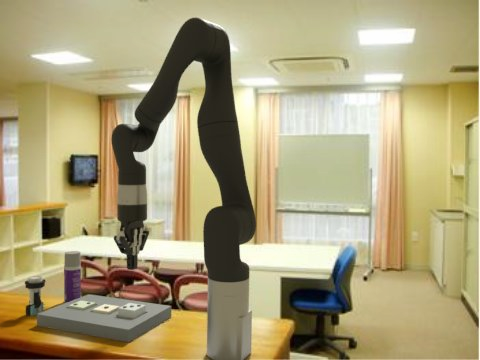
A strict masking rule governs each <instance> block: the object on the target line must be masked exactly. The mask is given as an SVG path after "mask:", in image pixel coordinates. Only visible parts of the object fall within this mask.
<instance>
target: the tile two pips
mask: <svg viewBox="0 0 480 360" xmlns="http://www.w3.org/2000/svg"><path fill="white" fill-rule="evenodd" d="M94 306H96V303H94V302H88V301H78V302H76V303H73V304H71V305H68V308H69V309H76V310H82V311H84V310H87V309H89V308H91V307H94Z"/></svg>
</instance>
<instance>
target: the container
mask: <svg viewBox="0 0 480 360" xmlns="http://www.w3.org/2000/svg"><path fill="white" fill-rule="evenodd" d="M81 266H82V264H81V251H79V250H72V251H65V252H64V268H63V273H64V276H63V277H64V278H63V279H64V281H63V282H64V284H63V287H64V290H63V292H64V293H63V294H64V295H63V296H64V297H63V298H64V299H63V300H64V301H63V302H64V303H63V304H65V303H67V302H70V301H72V300H75V299H78V298H80V297H82V293H81V292H82V286H81V285H82V284H81V282H82V281H81V280H82V277H81V276H82V271H81V270H82V269H81V268H82V267H81Z"/></svg>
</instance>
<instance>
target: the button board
mask: <svg viewBox="0 0 480 360" xmlns="http://www.w3.org/2000/svg"><path fill="white" fill-rule="evenodd" d="M78 301H88V302H94V303H96V306H94V307H91V308H89V309H87V310H84V311H82V310H76V309H69V308H68V305H71V304H73V303H76V302H78ZM128 303H134V304H141V305H145V314H143V315H142V316H140V317H138V318H136V319H132V318H126V317H120V316H118V311H116V312H114V313H111V314H109V315H107V314H101V313H94V312H93V309H94V308H97V307H99V306H101V305H104V304H108V305H114V306H120V307H122V306H124V305H126V304H128ZM170 318H172V305H166V304H159V303H153V302H144V301H138V300H131V299H125V298H119V297H118V298H117V297H110V296H103V295H96V294H91V293H90V294H89V293H88V294H85V295H83V296H81V297H80V298H78V299H75V300H72V301H70V302H67V303H62V304H60V305H57V306H55V307H51V308H49V309H46V310H43V311H42V312H41V313H38V314H36V326H37V327H43V328H46V329H47V328H49V329H53V330H54V329H55V330H58V331H59V330H60V331H65V332H69V333H74V334H75V333H76V334H81V335H85V336H91V337H92V336H93V337H98V338H102V339H103V338H104V339H109V340H114V341H119V342H120V341H121V342H124V343H130V342H131V341H133V340H135V339H136V338H138V337H140V336H141V335H144V334H146V333H147V332H148V331H150V330H152V329H153V328H155V327H157V326H159V325H160V324H162V323H164V322H166V321H167V320H168V319H170Z"/></svg>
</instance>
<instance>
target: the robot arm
mask: <svg viewBox="0 0 480 360" xmlns="http://www.w3.org/2000/svg"><path fill="white" fill-rule="evenodd" d="M229 38H230V37H229V35H228V33H227V31H226V30H225V28H223V27H222V26H221V25H219V24H218V23H214V22H211V21H208V20H207V19H204V18H201V17H191V18H189V19H187V20H186V21H184V23H183V24H182V25H181V26H180V28H179V29H178V32H177V34H176V35H175V37H174V39H173V42H172V43H171V46H170V48H169V49H168V52H167V54H166V57H165V58H164V61H163V63H162V65H161V67H160V70H159V71H158V74H157V75H156V78H155V79H154V82H153V84H151V86H150V88H149V89H148V90H147V92H146V94H145V95H144V97H143V98H142V99H141V101H140V102H139V103H138V105H137V107H136V108H135V110H134V117H135V120H136V121H137V123H138V124H130V123H120V124H117V125H116V126H115V127H114V129H113V130H112V133H111V139H110V140H111V147H112V150H113V155H114V158H115V162H116V166H117V169H118V175H117V176H118V177H117V181H118V182H117V184H118V185H117V192H116V193H117V194H116V195H117V196H116V198H117V199H116V200H117V201H116V202H117V203H116V204H117V208H116V209H117V211H116V212H117V213H116V217H117V218H116V219H117V221H119V222H120V226H119V234H118V235H114V236H113V241H114V242H115V244H116V247H117V248H118V250H119V251H120V253H121V254H123V255H126V269H127V270H131V271H134V270H137V269H138V260H139V259H138V255H139V254H140V251H141V252H143V250H144V248H145V245H146V243H147V239H148V237H149V235H150V231H149V230H146V229H145V223H144V222H146V220H148V189H147V167H146V164H145V163H144V162H142V161H139V160H137V159H136V157H135V153H143V152H145V151H146V152H147V150H149V149H150V148H151V147H152V146H153V144H154V142H155V139H156V137H157V134H158V132H159V128H160V126H161V124H162V122H164V120H165V119H166V117H168V115H169V114H170V112H171V110H172V109H173V107H174V105H175V104H176V101H177V98H178V92H179V85H180V81H181V78H182V77H183V76H182V75H183V74H184V72H185V71H186V70H187V69H188V68H189V66H190V65H191V64H192V63H193V62H197V63H201V66H202V68H203V69H202V70H203V75H204V85H205V86H204V87H205V88H204V94H203V98H202V101H201V103H200V106H199V109H198V113H197V118H196V124H197V127H196V128H197V133H198V134H197V135H198V141H199V147H200V150H201V154H202V155H203V157H204V160H205V161H206V164H207V165H208V167H209V169H210V170H211V172H212V174H213V176H214V178H215V179H216V181H217V184H218V188H219V191H220V198H221V200H220V201H221V205H219V206H215V207H212V208H211V209H210V210H209V211H208V212H207V214H206V215H205V218H204V222H203V227H202V230H203V231H202V232H203V235H202V236H203V239H202V240H203V258H204V265H205V267H206V269H207V303H206V304H207V305H206V307H207V308H206V309H207V310H206V354H207V357H208V358H209V359H211V360H245V359H246V358H247V357H248V356H249V355H250V354H251V353H252V336H253V335H252V332H253V329H252V327H253V321H252V320H253V310H251V309H250V308H249V307H250V266H249V265H248V263H247V262H244V261H243V260H242V259H241V251H240V248H241V247H240V246H241V245H244V244H247V243H249V242H250V241H251V240H252V239H253V238H254V236H255V234H256V231H257V219H256V214H255V210H254V205H253V202H252V198H251V193H250V191H249V186H248V180H247V176H246V169H245V163H244V157H243V150H242V142H241V141H242V140H241V135H240V134H241V133H240V128H239V121H238V116H237V111H236V103H235V95H234V88H233V77H232V55H231V54H232V53H231V43H230V39H229Z"/></svg>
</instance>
